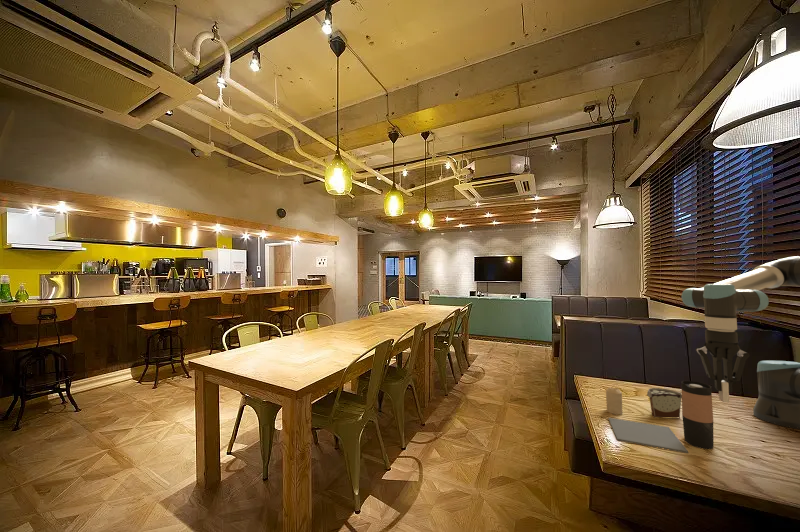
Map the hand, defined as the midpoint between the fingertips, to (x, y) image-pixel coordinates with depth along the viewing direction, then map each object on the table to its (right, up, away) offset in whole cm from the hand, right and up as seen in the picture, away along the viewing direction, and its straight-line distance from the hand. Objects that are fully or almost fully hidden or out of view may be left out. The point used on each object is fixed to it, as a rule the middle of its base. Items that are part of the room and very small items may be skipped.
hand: (724, 400), depth 103 cm
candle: (-17, -17, +28) cm, 37 cm away
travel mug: (-6, -16, +2) cm, 17 cm away
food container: (0, -17, +25) cm, 30 cm away
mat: (-20, -16, +9) cm, 27 cm away
